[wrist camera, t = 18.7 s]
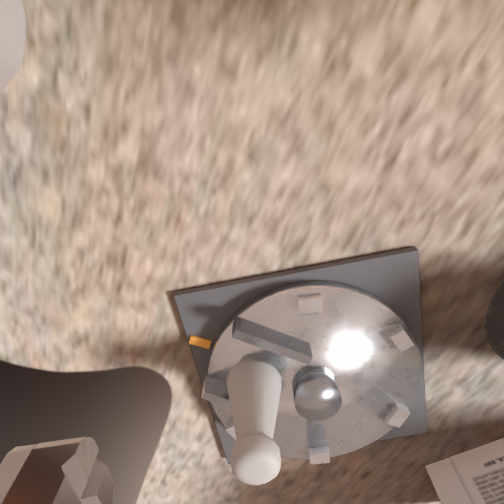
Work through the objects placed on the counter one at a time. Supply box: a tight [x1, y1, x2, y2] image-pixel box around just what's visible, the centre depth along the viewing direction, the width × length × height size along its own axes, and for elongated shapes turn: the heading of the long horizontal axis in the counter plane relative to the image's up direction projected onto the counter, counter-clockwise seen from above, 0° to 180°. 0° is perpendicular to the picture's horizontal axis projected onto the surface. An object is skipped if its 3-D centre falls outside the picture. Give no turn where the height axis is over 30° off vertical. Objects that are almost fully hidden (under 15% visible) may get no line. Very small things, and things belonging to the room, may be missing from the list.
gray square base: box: [174, 247, 427, 464], centre depth 49 cm, size 26×26×1 cm
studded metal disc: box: [201, 281, 421, 465], centre depth 47 cm, size 24×24×5 cm
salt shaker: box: [226, 354, 282, 485], centre depth 40 cm, size 6×6×13 cm
